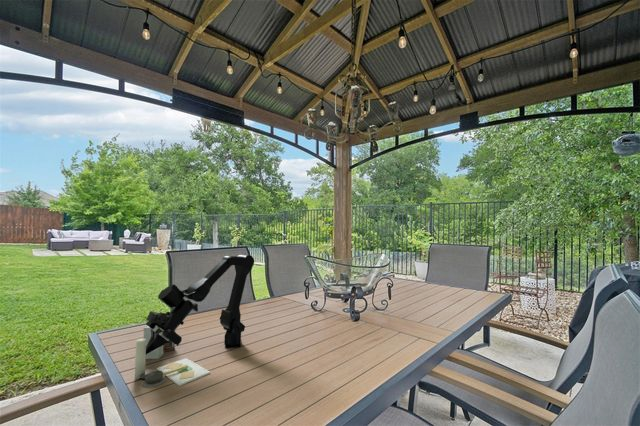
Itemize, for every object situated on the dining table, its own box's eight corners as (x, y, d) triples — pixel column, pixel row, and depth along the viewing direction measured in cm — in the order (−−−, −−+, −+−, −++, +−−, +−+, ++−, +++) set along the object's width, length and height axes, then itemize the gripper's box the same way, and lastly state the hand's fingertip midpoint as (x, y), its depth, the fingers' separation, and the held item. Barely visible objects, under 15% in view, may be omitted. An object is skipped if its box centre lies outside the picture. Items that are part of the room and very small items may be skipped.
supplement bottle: (157, 352, 121) (158, 324, 121) (160, 346, 126) (161, 320, 127) (173, 351, 122) (174, 323, 123) (175, 345, 128) (176, 319, 129)
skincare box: (163, 354, 119) (164, 324, 120) (158, 359, 115) (159, 327, 115) (148, 354, 119) (149, 324, 120) (142, 359, 115) (143, 327, 115)
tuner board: (186, 359, 115) (186, 357, 115) (210, 373, 104) (210, 371, 104) (133, 377, 101) (133, 375, 101) (154, 396, 90) (155, 394, 90)
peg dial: (146, 367, 107) (147, 333, 107) (188, 367, 107) (190, 334, 108) (126, 383, 96) (127, 345, 96) (173, 384, 96) (175, 346, 96)
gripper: (152, 297, 113) (117, 334, 105) (174, 307, 101) (136, 350, 92) (172, 313, 119) (141, 350, 110) (195, 325, 107) (161, 367, 98)
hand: (144, 353), depth 103 cm, fingers closed
